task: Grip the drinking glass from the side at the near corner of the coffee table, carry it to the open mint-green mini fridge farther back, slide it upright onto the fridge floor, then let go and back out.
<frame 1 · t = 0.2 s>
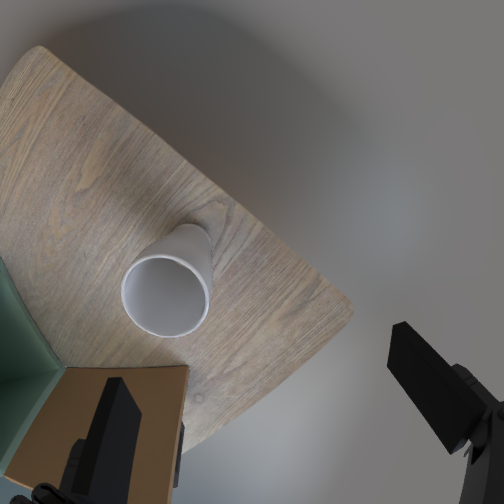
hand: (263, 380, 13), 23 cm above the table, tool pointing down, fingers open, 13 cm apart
fridge door: (106, 439, 28), point 12 cm above the table, hinge at 105.0°
drinking glass: (190, 244, 34), on the table
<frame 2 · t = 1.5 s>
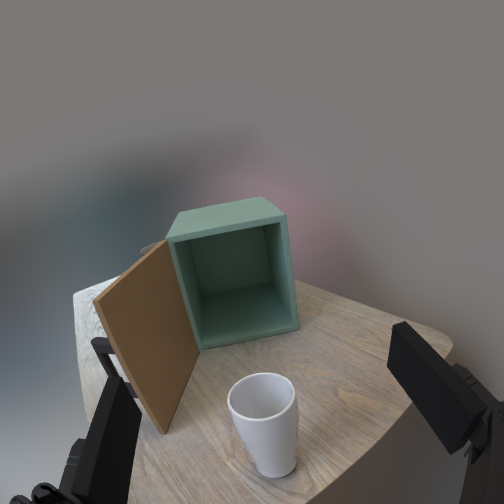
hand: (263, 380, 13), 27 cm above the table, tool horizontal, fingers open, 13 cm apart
fridge: (242, 312, 70), on the table
fridge door: (145, 334, 43), point 12 cm above the table, hinge at 105.0°
drinking glass: (276, 464, 31), on the table
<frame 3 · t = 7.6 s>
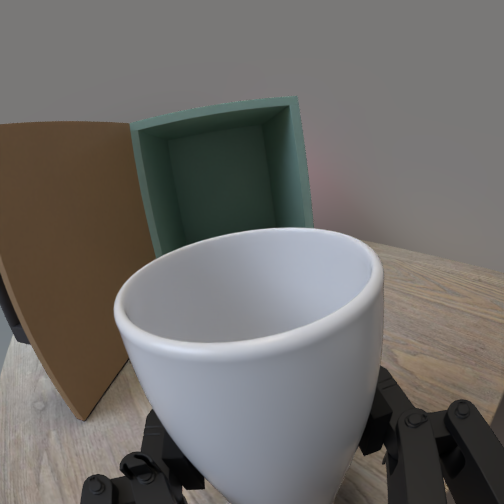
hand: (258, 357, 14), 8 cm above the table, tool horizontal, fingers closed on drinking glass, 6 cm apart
fridge: (236, 259, 51), on the table
fridge door: (74, 249, 25), point 12 cm above the table, hinge at 105.0°
drinking glass: (288, 502, 12), on the table, touching gripper
when the fingers open (9 cm above the table, at t = 18.5 s): drinking glass stays where it is, resting on fridge.
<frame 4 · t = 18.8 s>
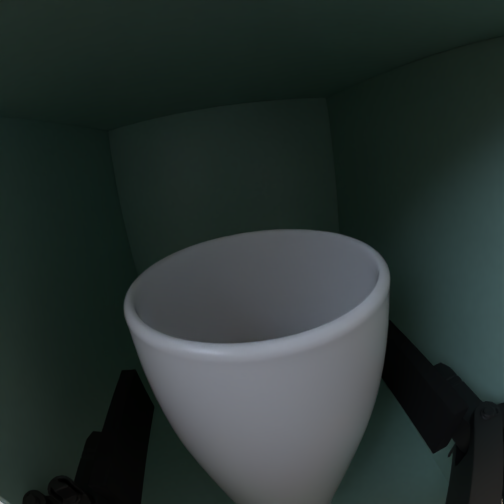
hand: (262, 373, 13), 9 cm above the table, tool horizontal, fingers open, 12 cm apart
fridge: (270, 427, 19), on the table
drinking glass: (287, 500, 12), point 1 cm above the table, touching fridge
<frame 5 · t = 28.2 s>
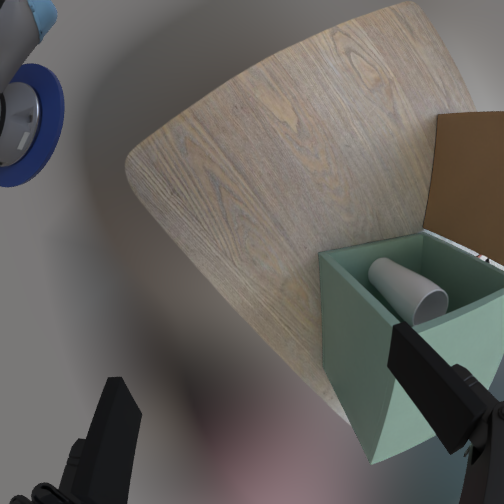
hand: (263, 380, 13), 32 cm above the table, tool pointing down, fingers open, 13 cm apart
fridge: (375, 303, 50), on the table
fridge door: (490, 183, 32), point 12 cm above the table, hinge at 105.0°
drinking glass: (379, 270, 47), point 1 cm above the table, touching fridge
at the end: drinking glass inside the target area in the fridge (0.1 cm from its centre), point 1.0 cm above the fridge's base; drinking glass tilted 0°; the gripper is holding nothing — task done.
